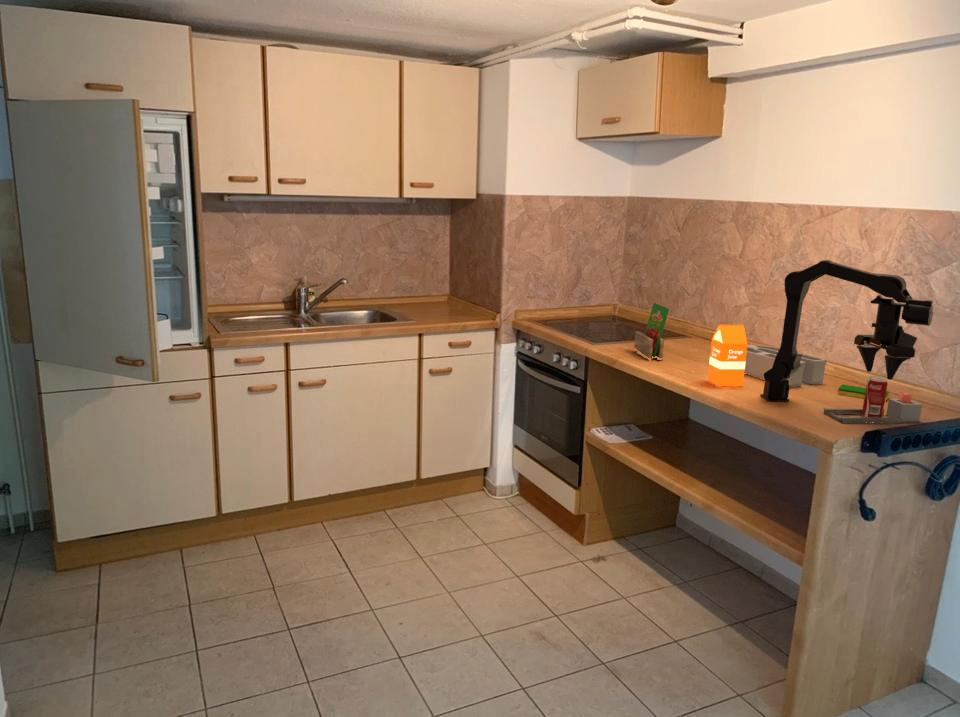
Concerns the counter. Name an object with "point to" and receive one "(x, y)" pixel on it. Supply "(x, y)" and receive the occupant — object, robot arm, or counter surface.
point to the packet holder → (647, 345)
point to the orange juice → (728, 356)
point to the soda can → (874, 397)
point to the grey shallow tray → (859, 419)
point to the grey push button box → (904, 410)
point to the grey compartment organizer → (763, 359)
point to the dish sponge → (854, 391)
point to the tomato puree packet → (656, 325)
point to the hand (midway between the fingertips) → (879, 375)
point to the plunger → (905, 397)
